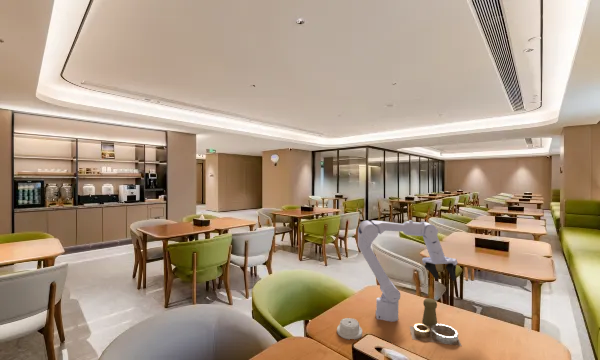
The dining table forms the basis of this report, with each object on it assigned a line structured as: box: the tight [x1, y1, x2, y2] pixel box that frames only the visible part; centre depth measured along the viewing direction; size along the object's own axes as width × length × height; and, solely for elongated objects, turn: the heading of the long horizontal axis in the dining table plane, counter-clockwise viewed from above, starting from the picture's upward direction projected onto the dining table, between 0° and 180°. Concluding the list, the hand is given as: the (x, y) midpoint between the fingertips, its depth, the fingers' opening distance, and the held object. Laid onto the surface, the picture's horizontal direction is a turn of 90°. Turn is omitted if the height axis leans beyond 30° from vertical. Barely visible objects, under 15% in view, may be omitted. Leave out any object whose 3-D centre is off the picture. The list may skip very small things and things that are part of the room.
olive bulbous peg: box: [421, 297, 438, 328], centre depth 119 cm, size 6×6×11 cm
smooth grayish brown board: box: [408, 325, 462, 347], centre depth 111 cm, size 17×9×1 cm, turn 76°
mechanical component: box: [336, 317, 363, 340], centre depth 115 cm, size 10×4×10 cm
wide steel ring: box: [430, 323, 459, 346], centre depth 110 cm, size 9×9×2 cm
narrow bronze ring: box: [413, 323, 431, 338], centre depth 112 cm, size 6×6×2 cm
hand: (445, 278), depth 123 cm, fingers open, 7 cm apart
